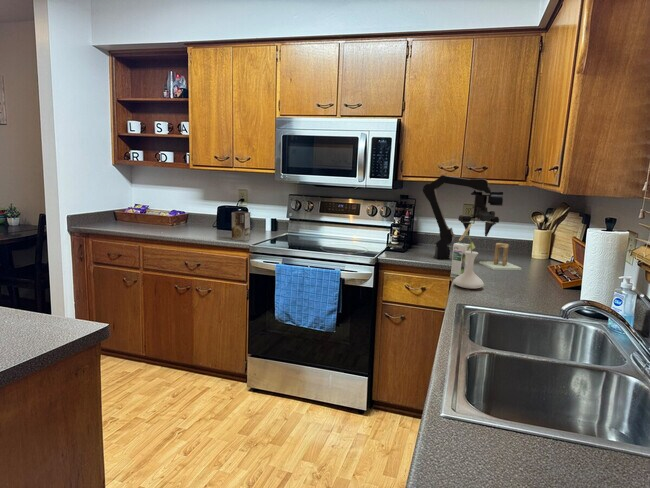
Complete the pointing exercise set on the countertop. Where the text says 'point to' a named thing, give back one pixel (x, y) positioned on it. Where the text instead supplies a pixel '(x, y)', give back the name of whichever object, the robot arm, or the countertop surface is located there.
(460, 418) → the countertop surface
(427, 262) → the countertop surface
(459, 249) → the syrup box
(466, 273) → the flower in vase
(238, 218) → the coffee box
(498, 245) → the wooden footstool
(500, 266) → the board
